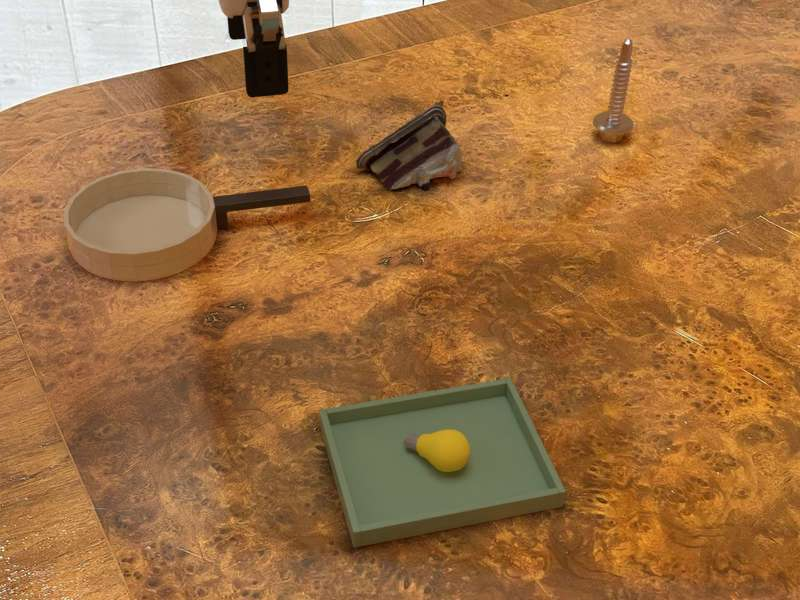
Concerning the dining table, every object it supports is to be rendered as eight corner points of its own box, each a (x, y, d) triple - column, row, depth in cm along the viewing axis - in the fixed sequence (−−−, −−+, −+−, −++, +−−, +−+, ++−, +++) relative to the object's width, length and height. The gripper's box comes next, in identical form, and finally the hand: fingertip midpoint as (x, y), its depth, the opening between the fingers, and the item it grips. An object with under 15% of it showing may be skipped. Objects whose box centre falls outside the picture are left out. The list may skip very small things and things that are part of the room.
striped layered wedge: (380, 208, 117) (461, 132, 113) (349, 163, 120) (426, 88, 116) (421, 227, 125) (497, 157, 122) (390, 184, 128) (464, 115, 125)
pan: (71, 291, 104) (65, 262, 102) (67, 204, 115) (62, 177, 113) (225, 270, 107) (223, 242, 105) (207, 187, 118) (204, 161, 116)
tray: (353, 548, 82) (353, 532, 80) (319, 424, 91) (318, 409, 90) (563, 506, 85) (566, 491, 84) (508, 392, 95) (511, 377, 94)
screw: (621, 125, 131) (637, 145, 127) (584, 129, 130) (599, 150, 127) (640, 27, 123) (657, 46, 119) (600, 30, 122) (616, 49, 118)
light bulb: (466, 484, 86) (451, 461, 84) (404, 468, 89) (388, 446, 87) (482, 449, 88) (468, 425, 85) (421, 435, 91) (406, 412, 89)
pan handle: (217, 231, 112) (214, 206, 110) (215, 222, 113) (212, 196, 111) (311, 219, 114) (310, 194, 112) (307, 210, 115) (307, 184, 113)
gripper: (177, -192, 80) (198, 21, 91) (204, -113, 67) (225, 124, 78) (276, -196, 82) (285, 14, 93) (321, -119, 69) (325, 113, 80)
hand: (257, 64), depth 85 cm, fingers open, 9 cm apart
